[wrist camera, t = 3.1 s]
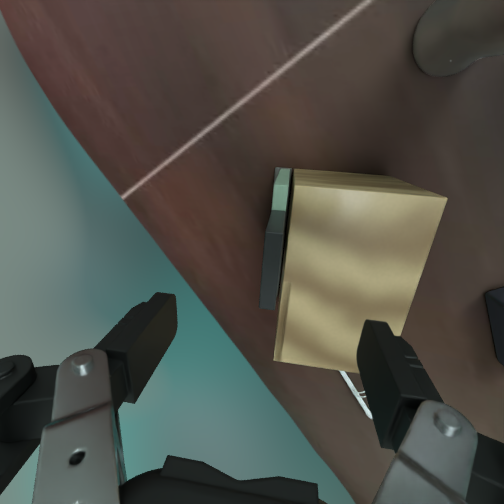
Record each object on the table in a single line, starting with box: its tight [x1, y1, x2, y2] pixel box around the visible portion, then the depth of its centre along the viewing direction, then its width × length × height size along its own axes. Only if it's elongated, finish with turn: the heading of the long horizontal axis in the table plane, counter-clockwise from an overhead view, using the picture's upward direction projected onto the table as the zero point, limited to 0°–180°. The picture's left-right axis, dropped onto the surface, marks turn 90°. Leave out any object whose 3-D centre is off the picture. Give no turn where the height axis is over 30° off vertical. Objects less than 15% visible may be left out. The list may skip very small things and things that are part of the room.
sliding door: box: [259, 169, 290, 310], centre depth 23 cm, size 8×1×16 cm, turn 177°
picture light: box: [339, 370, 372, 419], centre depth 38 cm, size 14×4×2 cm, turn 32°
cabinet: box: [271, 167, 447, 373], centre depth 27 cm, size 16×12×12 cm
